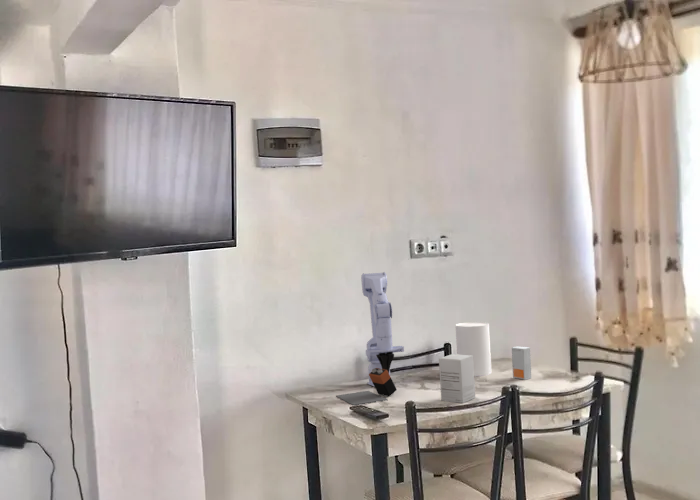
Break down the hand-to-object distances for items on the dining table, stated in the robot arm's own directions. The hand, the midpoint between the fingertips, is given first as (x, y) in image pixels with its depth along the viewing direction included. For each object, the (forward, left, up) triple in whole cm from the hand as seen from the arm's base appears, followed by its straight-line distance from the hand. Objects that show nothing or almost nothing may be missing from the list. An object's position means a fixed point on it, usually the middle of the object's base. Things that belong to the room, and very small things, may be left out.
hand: (386, 373), depth 264 cm
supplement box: (+21, +17, -8) cm, 28 cm away
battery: (0, 0, -7) cm, 7 cm away
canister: (-15, +46, -8) cm, 49 cm away
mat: (-1, -10, -8) cm, 13 cm away
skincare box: (+5, +55, -8) cm, 56 cm away
